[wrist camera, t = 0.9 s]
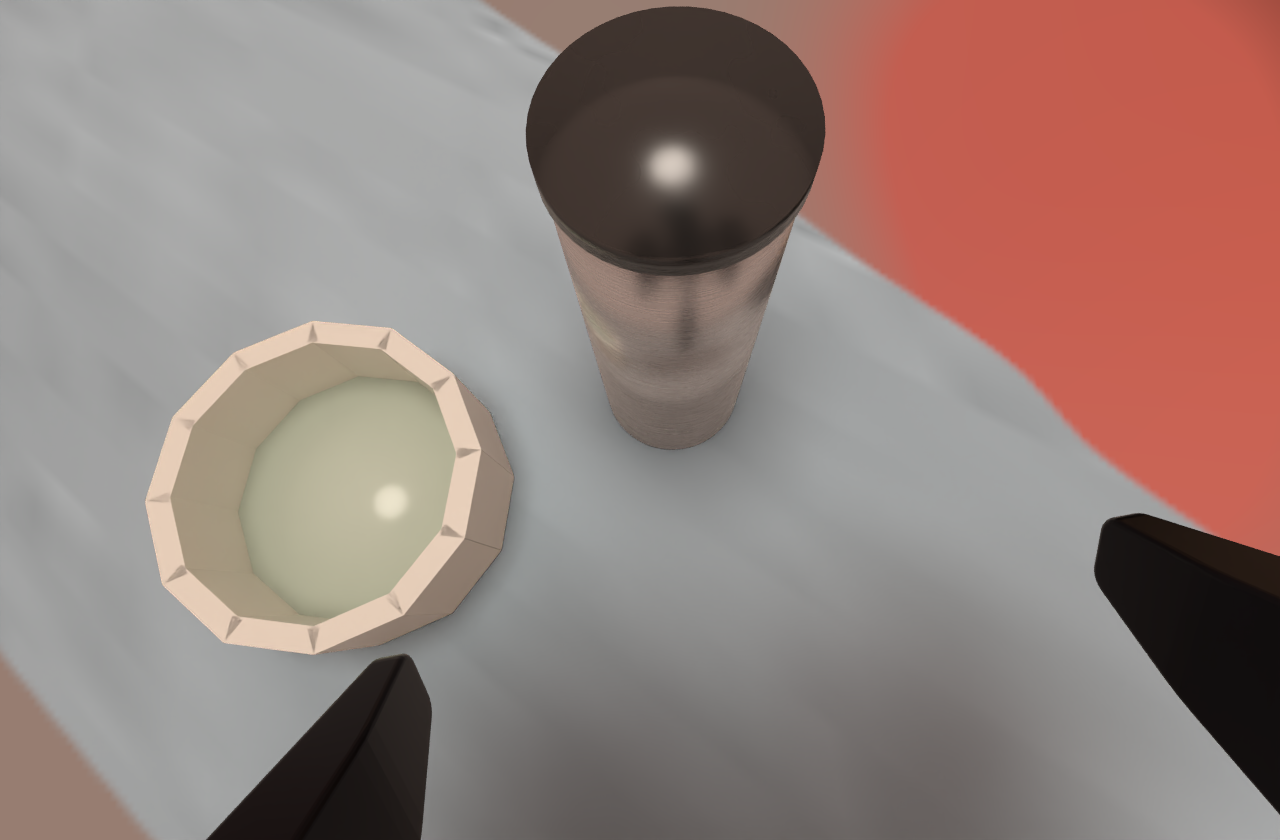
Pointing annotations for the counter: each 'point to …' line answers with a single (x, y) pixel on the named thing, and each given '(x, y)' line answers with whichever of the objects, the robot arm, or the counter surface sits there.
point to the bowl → (328, 492)
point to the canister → (674, 202)
